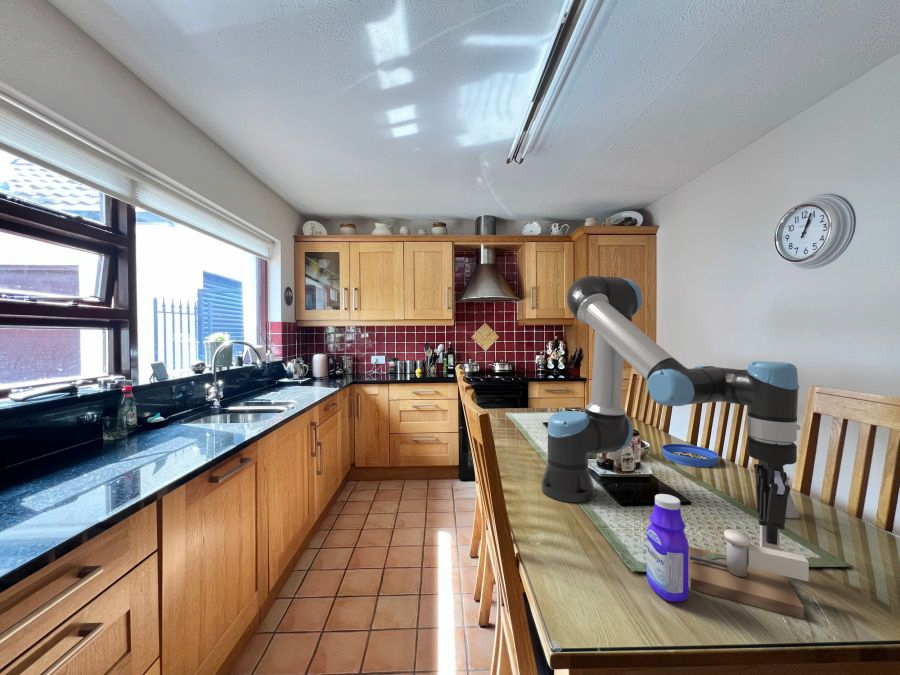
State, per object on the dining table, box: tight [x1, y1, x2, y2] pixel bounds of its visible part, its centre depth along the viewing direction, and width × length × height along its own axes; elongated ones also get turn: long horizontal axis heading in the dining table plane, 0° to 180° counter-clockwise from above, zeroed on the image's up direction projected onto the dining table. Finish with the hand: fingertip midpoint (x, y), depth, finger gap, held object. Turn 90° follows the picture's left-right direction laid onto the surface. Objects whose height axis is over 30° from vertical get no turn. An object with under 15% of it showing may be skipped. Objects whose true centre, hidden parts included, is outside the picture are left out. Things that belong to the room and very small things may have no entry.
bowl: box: [661, 443, 719, 468], centre depth 141 cm, size 18×18×4 cm
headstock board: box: [688, 546, 805, 620], centre depth 71 cm, size 16×12×2 cm
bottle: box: [646, 493, 690, 603], centre depth 69 cm, size 7×6×17 cm
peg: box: [689, 529, 810, 582], centre depth 71 cm, size 18×4×7 cm, turn 63°
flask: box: [785, 475, 801, 520], centre depth 99 cm, size 7×7×10 cm
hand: (769, 556), depth 74 cm, fingers closed
